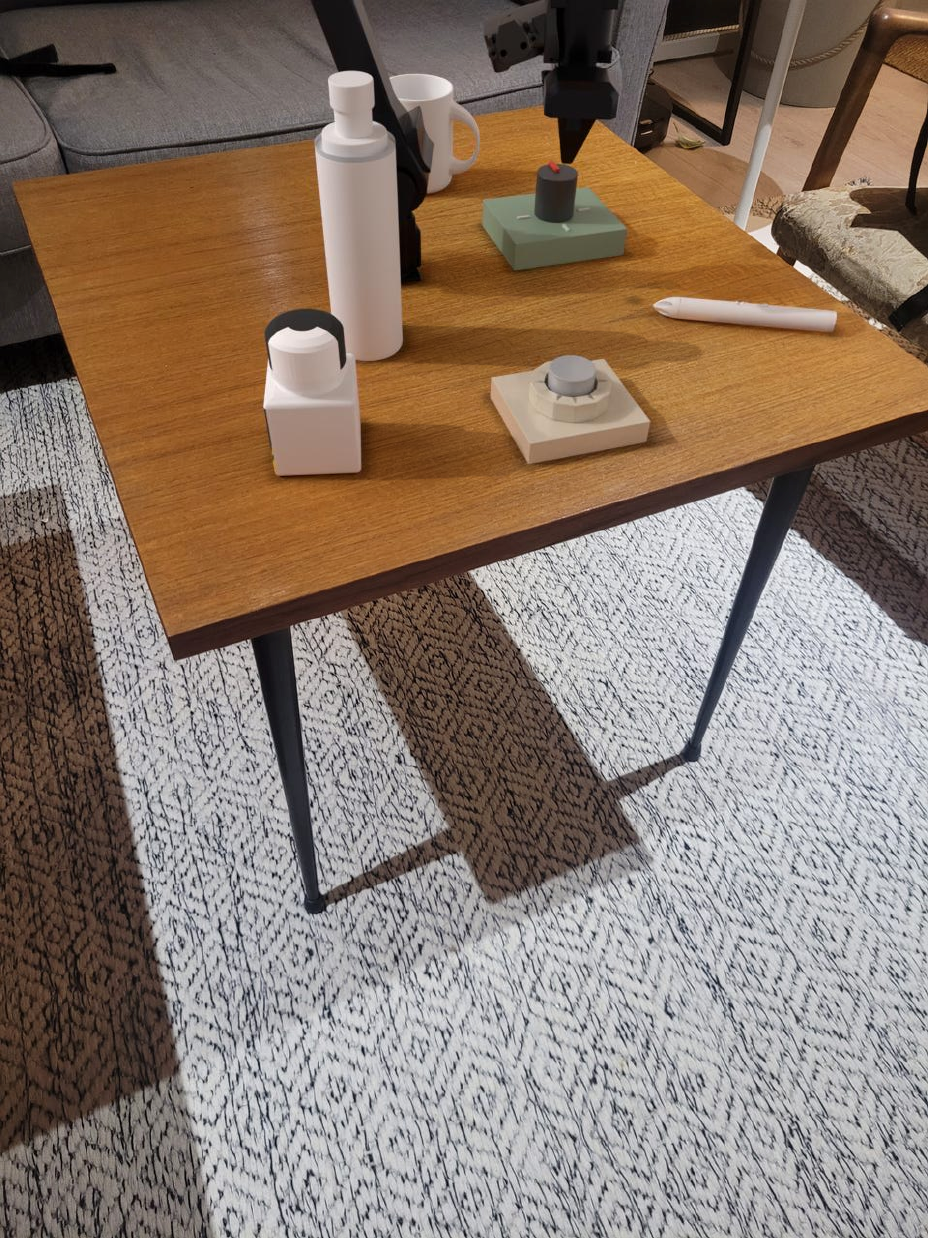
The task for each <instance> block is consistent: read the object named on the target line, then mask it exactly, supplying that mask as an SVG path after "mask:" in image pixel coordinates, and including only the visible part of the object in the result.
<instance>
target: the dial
mask: <svg viewBox="0 0 928 1238" xmlns="http://www.w3.org/2000/svg"><path fill="white" fill-rule="evenodd" d="M578 177H579V172H578V170H577V169H576V168H574V167H573V166H571V165H569V164H563V163H555V161H554V160H550V161H547V164H543V165H542V166H540V167H538V169H537V171H536V182H535V207H534V214H535V216H536V217H538V218H539V219H541V220H544V221H548V222H564V221H567V220H569V219H571V218H572V217H573V215H574V206H575V197H576V188H578V187H577V185H578Z"/></svg>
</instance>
